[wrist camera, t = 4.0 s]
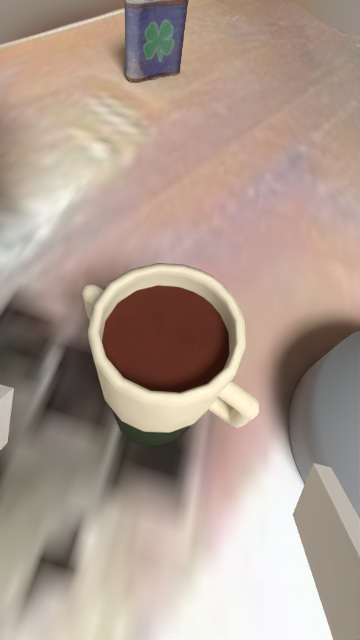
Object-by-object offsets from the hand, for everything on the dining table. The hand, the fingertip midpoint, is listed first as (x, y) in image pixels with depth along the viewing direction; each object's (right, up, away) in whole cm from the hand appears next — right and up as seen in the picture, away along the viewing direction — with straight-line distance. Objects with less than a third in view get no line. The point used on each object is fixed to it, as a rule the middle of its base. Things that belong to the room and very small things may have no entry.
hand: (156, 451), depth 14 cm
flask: (-3, +43, +36) cm, 56 cm away
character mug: (-1, -1, +12) cm, 12 cm away
